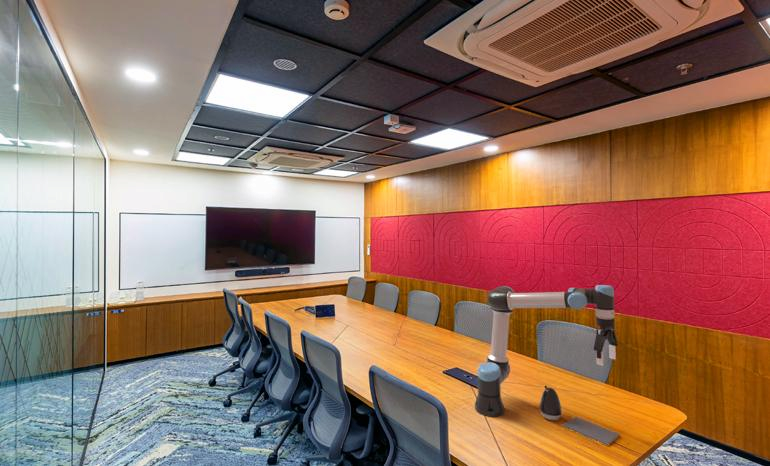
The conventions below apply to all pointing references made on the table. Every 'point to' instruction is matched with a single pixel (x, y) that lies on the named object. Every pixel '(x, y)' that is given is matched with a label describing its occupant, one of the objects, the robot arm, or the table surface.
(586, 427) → the mat
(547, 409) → the pump dispenser
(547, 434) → the table surface
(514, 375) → the table surface
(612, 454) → the table surface
